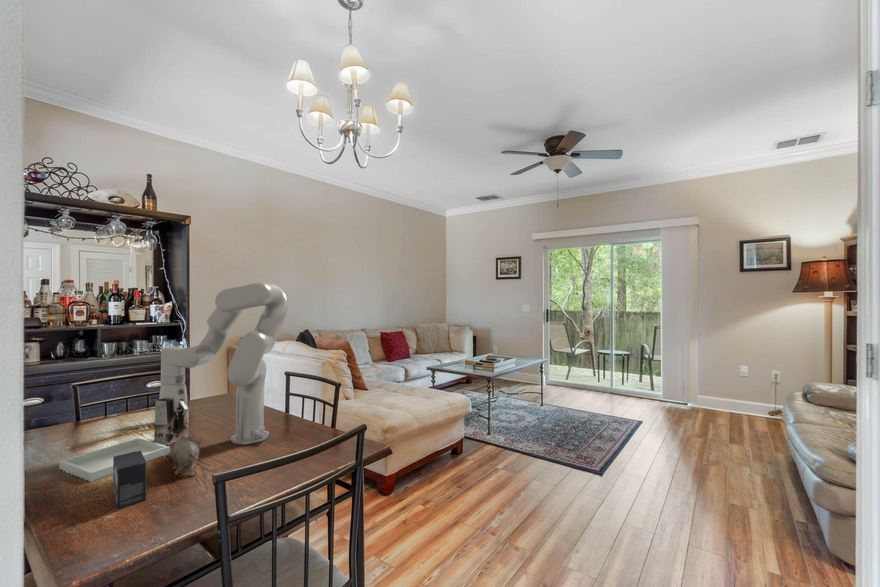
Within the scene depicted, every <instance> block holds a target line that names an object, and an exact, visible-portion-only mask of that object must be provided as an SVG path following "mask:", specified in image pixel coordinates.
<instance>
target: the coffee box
mask: <svg viewBox="0 0 880 587" xmlns="http://www.w3.org/2000/svg"><path fill="white" fill-rule="evenodd" d="M154 404H155V407H154V409H155V410H154V434H153V436H154V438H153V442H155V443H158V444H162V445H168V446H171V445H172V443H173V444H175V443H176V442H177V441H178V440H180V438H181V437H183V435H184V436H185V437H186V438H189V426H190V425H189V417H190V416H189V414H190V395H188V394H187V408H188V411H187V412H186V415H185V417H184V427H183V428H182V429H178V430H174V419H176V418H175V412H173V400H168V399H156V400H155V403H154ZM177 410H180V408H177ZM177 413H178V415H179V413H180V412H177ZM174 442H175V443H174Z"/></svg>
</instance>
